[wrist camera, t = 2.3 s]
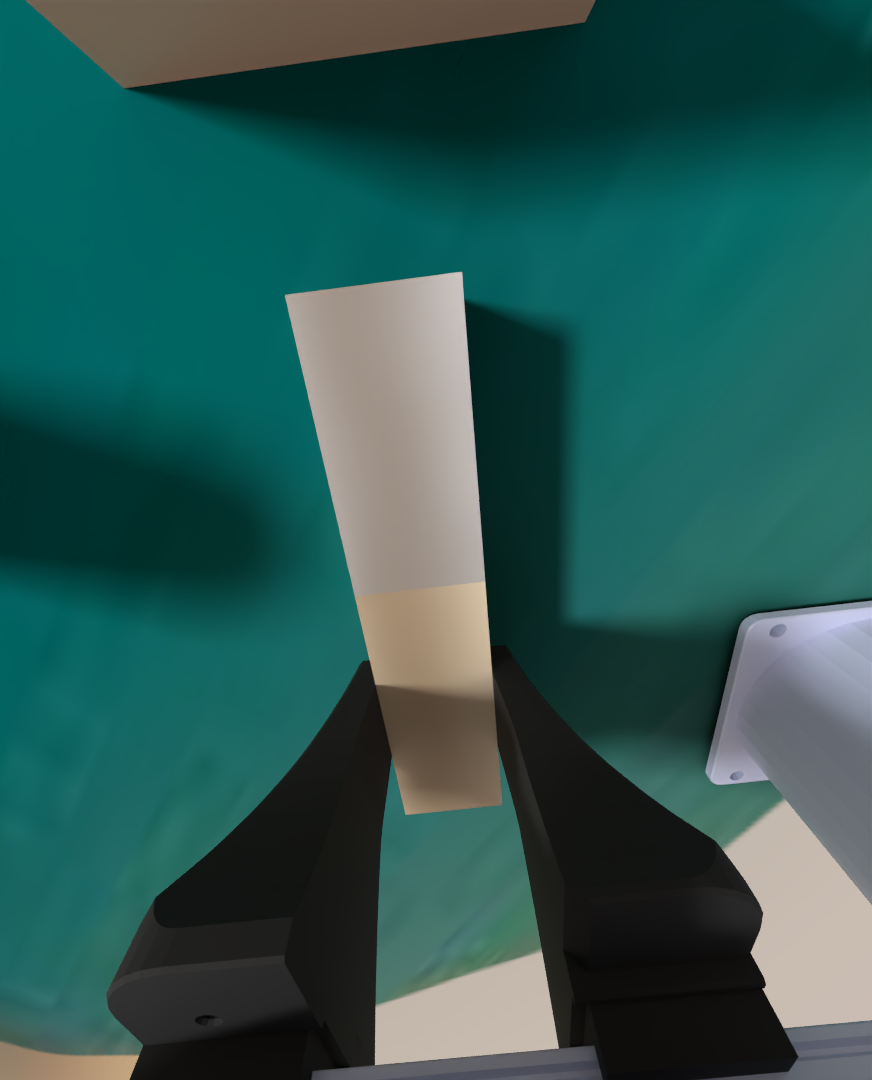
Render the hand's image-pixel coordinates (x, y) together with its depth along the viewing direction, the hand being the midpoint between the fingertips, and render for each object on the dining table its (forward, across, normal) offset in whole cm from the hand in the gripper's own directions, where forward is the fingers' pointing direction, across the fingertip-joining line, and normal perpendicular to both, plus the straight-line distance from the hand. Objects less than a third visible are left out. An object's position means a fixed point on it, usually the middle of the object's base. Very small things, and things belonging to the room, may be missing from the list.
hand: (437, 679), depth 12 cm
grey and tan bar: (+2, 0, -3) cm, 3 cm away
